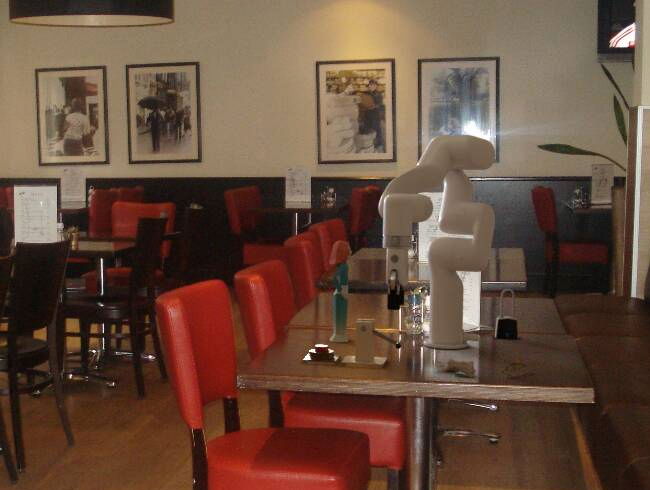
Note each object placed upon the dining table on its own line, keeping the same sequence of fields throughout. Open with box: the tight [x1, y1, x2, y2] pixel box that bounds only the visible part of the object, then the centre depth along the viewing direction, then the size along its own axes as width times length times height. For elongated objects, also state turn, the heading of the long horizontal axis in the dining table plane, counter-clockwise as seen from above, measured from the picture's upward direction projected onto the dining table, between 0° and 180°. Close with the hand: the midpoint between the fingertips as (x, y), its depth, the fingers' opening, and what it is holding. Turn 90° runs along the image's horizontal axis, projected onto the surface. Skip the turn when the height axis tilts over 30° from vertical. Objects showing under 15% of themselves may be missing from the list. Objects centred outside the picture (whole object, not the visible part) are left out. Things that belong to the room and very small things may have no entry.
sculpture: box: [328, 240, 353, 343], centre depth 311 cm, size 13×7×30 cm, turn 168°
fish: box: [501, 356, 533, 378], centre depth 262 cm, size 12×2×5 cm, turn 126°
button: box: [314, 344, 330, 352], centre depth 281 cm, size 4×4×2 cm
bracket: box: [341, 318, 388, 366], centre depth 277 cm, size 11×9×12 cm
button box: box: [302, 348, 342, 363], centre depth 281 cm, size 9×8×3 cm
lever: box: [362, 320, 404, 350], centre depth 276 cm, size 12×5×2 cm, turn 74°
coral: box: [434, 358, 477, 378], centre depth 265 cm, size 6×10×4 cm, turn 62°
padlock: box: [494, 288, 520, 340], centre depth 316 cm, size 7×4×15 cm, turn 80°
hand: (395, 307), depth 275 cm, fingers open, 9 cm apart
